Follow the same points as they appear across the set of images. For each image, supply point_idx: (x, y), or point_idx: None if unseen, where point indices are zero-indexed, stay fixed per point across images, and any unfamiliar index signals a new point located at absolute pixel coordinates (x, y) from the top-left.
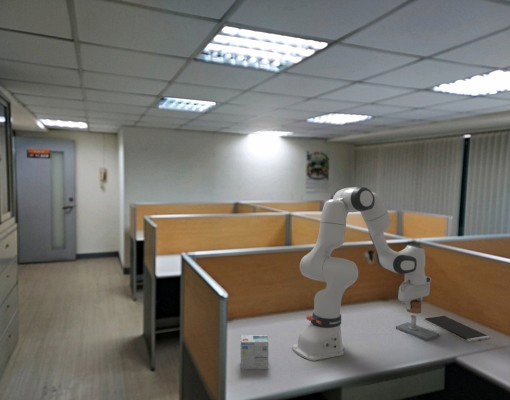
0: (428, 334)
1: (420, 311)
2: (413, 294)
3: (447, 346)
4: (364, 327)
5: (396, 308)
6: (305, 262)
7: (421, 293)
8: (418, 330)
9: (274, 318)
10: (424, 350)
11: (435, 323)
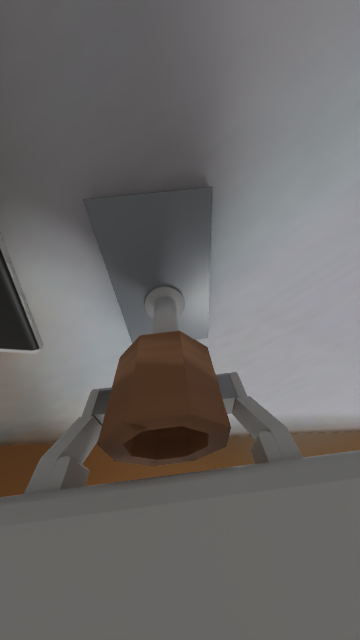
0: (156, 224)
1: (147, 341)
2: (297, 604)
3: (161, 19)
4: (272, 363)
5: (79, 412)
6: None
7: (43, 599)
8: (162, 280)
9: (348, 422)
10: (343, 90)
11: (14, 303)
